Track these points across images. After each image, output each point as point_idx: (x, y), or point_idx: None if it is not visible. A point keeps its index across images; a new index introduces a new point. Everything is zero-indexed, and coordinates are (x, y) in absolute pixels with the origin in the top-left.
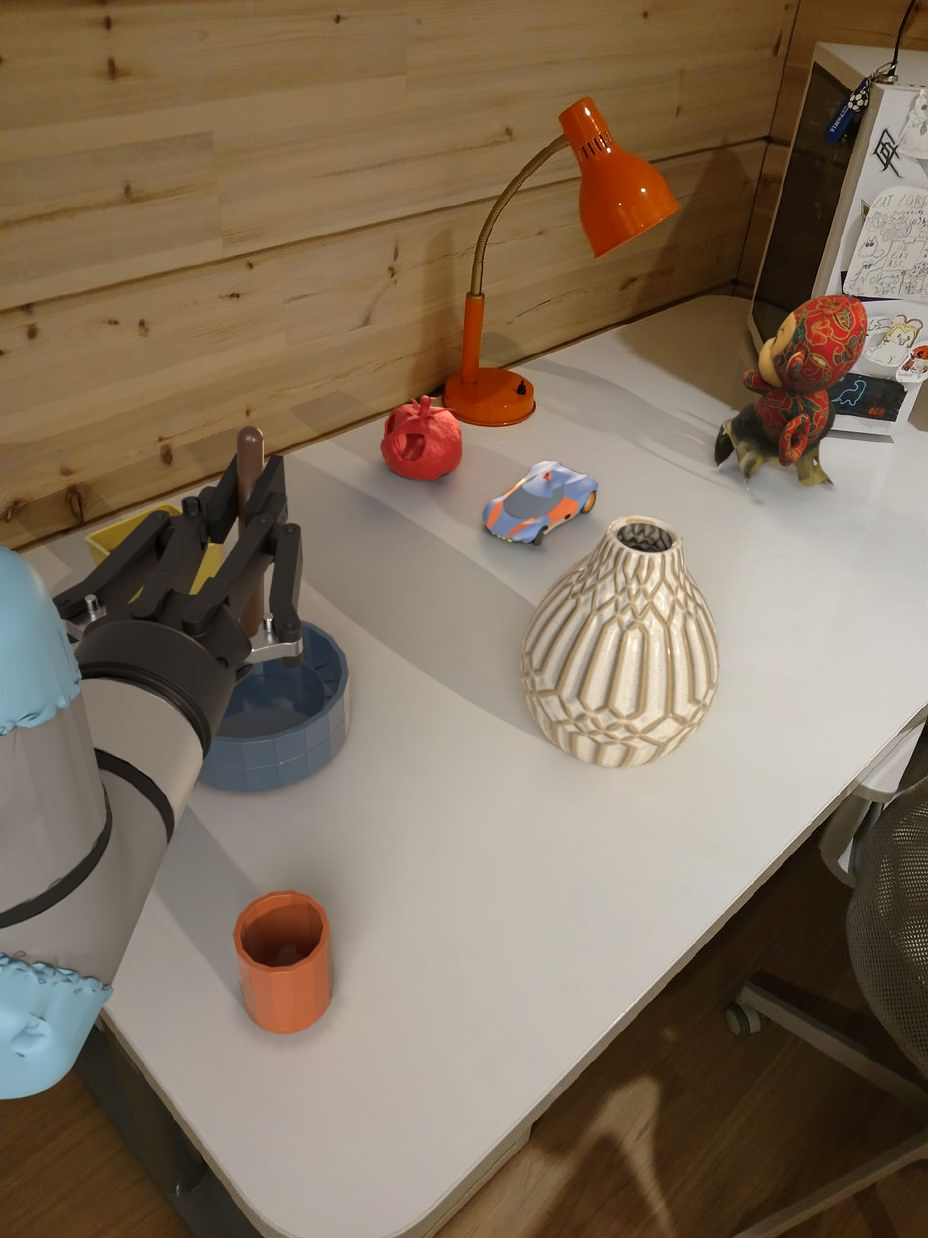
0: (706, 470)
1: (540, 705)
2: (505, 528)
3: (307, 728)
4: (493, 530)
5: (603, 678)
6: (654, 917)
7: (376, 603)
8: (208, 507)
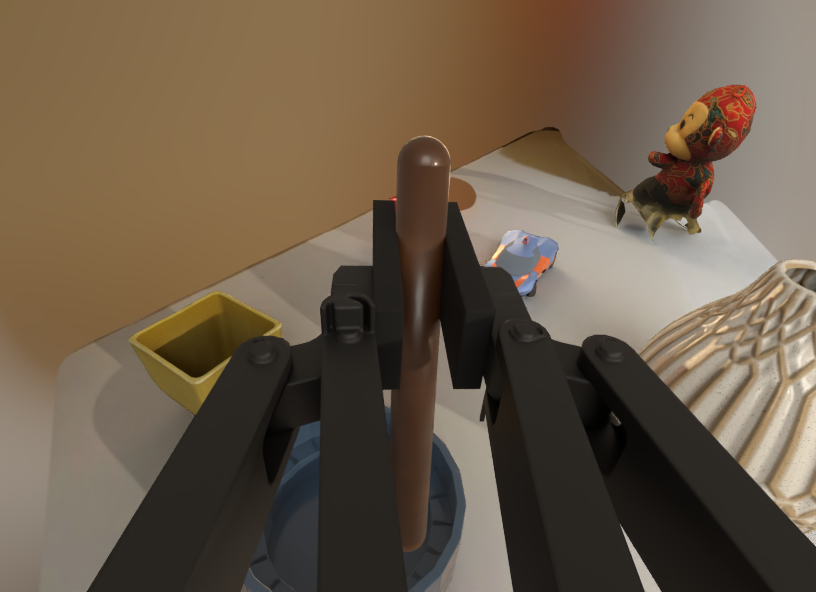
0: (610, 229)
1: None
2: None
3: (443, 571)
4: None
5: (808, 461)
6: None
7: None
8: (379, 315)
